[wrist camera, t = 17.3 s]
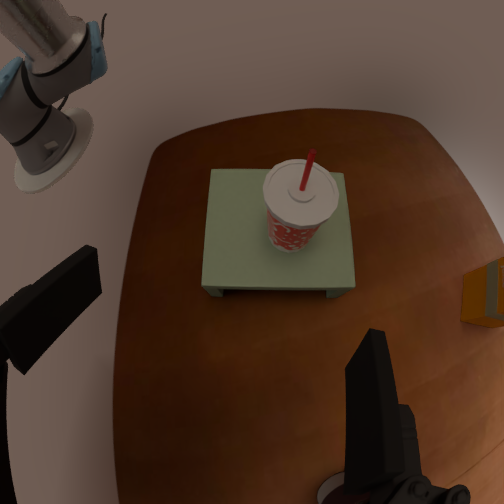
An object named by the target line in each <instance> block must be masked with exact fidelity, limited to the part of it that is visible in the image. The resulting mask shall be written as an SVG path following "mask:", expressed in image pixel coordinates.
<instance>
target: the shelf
mask: <svg viewBox="0 0 504 504" xmlns="http://www.w3.org/2000/svg"><path fill="white" fill-rule="evenodd" d="M270 171H271V169H212V170H211V179H210V188H209V198H208V208H207V219H206V230H205V243H204V256H203V270H202V287H203V288H204V289H205V290H206V291H207V292H208V293H209V294H210V295H211V296H218V297H223V290H224V289H247V290H326V297H327V298H337V297H339V296H341V295H343V294H344V293H346V292H348V291H350V290H351V289H353V288H355V273H354V260H353V248H352V238H351V228H350V219H349V211H348V203H347V196H346V189H345V182H344V176H343V173H332V172H329V173H330V175H331V176H332V177H333V179H334V180H335V181H336V184H337V188H338V191H339V199H338V205H337V208H336V210H335V211H334V212H333V214H332V215H331V216H330V218H329V219H328V221H327V222H325V223H323V224H321V225H320V227H319V228H318V230H317V231H316V232H315V234H314V235H313V237H312V238H311V239H310V241H309V242H308V243H307V245H306V246H305V247H304V248H303V249H301V250H300V251H298V252H293V253H287V252H283V251H280V250H278V249H277V248H276V247H274V246H273V245H272V243H271V241H270V240H269V236H268V225H267V207H266V206H265V203H264V196H263V184H264V181H265V178H266V175H267V174H268V173H269V172H270Z"/></svg>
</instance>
